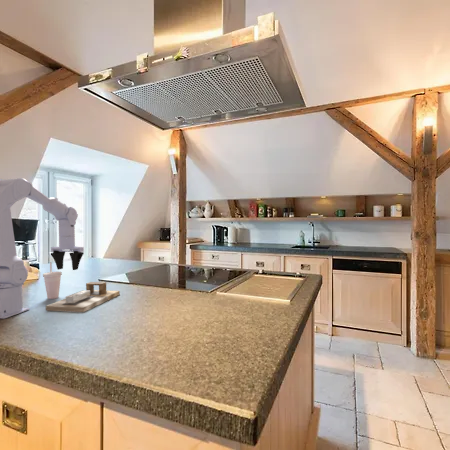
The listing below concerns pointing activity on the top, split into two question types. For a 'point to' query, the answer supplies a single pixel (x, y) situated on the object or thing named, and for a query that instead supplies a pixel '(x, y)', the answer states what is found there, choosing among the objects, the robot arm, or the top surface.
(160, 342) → the top surface
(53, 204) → the robot arm
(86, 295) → the brushed metal block
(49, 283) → the smoothie
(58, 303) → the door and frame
